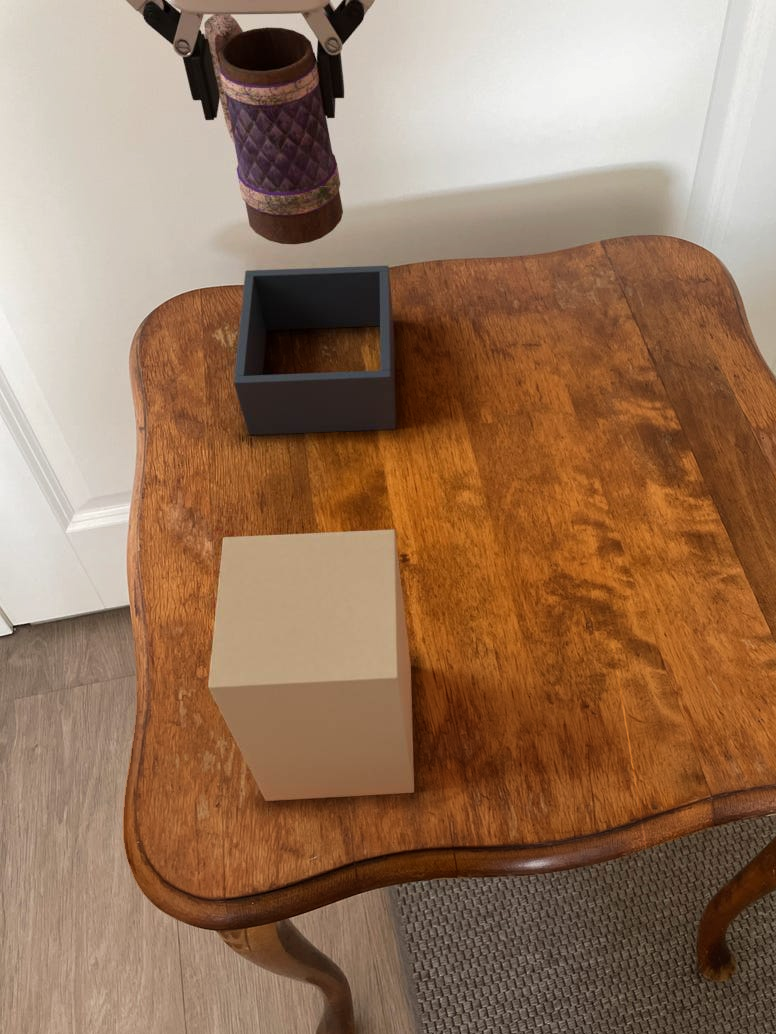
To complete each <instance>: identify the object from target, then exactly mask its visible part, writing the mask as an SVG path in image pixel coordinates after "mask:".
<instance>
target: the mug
mask: <svg viewBox="0 0 776 1034" xmlns="http://www.w3.org/2000/svg"><path fill="white" fill-rule="evenodd" d="M203 26H204V35H205V39H208V41H209V46H210V50H211V55H212V60H213V65H214V69H215V74H216V79H217V84H218V88H219V94H220V100H219V101H220V104H221V109H222V113H223V117H224V122H225V125H226V128H227V131H228V134H229V137H230V139H231V141H232V142H233V144H234V149H235V153H236V159H237V166H236V172H237V179H238V184H239V187H240V188H239V189H240V194H241V199H242V200H243V201H244V203H245V208H246V213H247V219H248V224H249V227H250V228H251V229H252V230H253V232H254V233H255V234H256V235H258V236H260V237H262V238H264V240H267V241H269V242H273V243H277V244H280V245H281V244H282V245H301V244H309V243H311V242H315V241H317V240H319V239H322V238H324V237H325V236H327V235H328V234H330V233H331V232H333V230H335V228H336V227H337V226H338V225H339V224H340V222H341V221H342V217H343V214H344V208H343V203H342V199H341V197H342V196H341V191H340V187H341V179H340V173H339V167H338V163H337V159H336V155H335V154H334V153H333V148H332V143H331V138H330V132H329V127H328V120H327V116H325V114H324V108H323V103H322V97H321V90H320V81H319V73H318V65H317V55H316V54H315V52H314V48H313V45H312V42H311V40H310V39H309V38H307V37H306V36H305V34H302V33H300V32H298V31H296V30H293V29H289V28H283V27H267V26H266V27H260V28H253V29H252V28H251V29H249V30H245V31H244V30H243V29H242V27H241V26H240V24H239V22H238V21H237V20H236V18H234V16H232V14H212V15H211V16H210V17H208V19H206V21H205V22H204V25H203Z"/></svg>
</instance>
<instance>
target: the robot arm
mask: <svg viewBox="0 0 776 1034" xmlns="http://www.w3.org/2000/svg"><path fill="white" fill-rule="evenodd" d="M125 1H126V2H127V3H128V4H129V5H130V6H131V7H132V8H133V9H134V10H135V11H136V12H138V13H139V14H140V15H141V16H142V17H143V20H144V22H145V23H146V24H147V25H148V26H149V27H150V28H151V29H153V30H154V31H155V32H157V33H158V34H159V36H161V37H162V38H164V39H165V40H166V41H167V42H169V44H171V45H172V46H173V50H174V52H175V53H176V54H177V55H178V56H180V57H182V61H183V64H184V65H183V66H184V70H185V74H186V78H187V82H188V86H189V90H190V94H191V99H192V101H200V102H201V107H202V112H203V117H204V119H205V121H215V119H217V117H218V112H219V106H220V101H221V100H220V94H219V88H218V84H217V79H216V74H215V69H214V65H213V60H212V55H211V50H210V46H209V41H208V39H205V33H202V30H201V26H202V22H203V19H204V15H214V14H230V15H291V14H292V15H293V14H301V16H302V17H303V19H304V20H305V22H306V23H307V25H308V27H309V28H310V29H311V31H312V33H313V34H314V36H315V37H316V39H317V44H316V45H317V47H316V50H317V51H316V60H317V65H318V73H319V81H320V90H321V97H322V103H323V108H324V114H325V116H326V119H335V118H336V99H345V82H344V72H343V62H342V61H343V60H342V50H343V46H344V44H345V43H346V42H347V41H348V39H349V38H351V36H352V34H354V32H355V31H356V30H357V29H358V28H359V26H360V25H361V24H362V23H363V21H364V18H365V15H366V14H367V12H368V11H369V10H370V9H371V8H372V6H373V4H374V2H375V1H376V0H341V2H340V3H339V4H338V6H337V7H336V8H335V6H334V5H333V3H332V2H331V0H168V1H167V0H125ZM179 10H180V11H179Z"/></svg>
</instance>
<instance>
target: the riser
mask: <svg viewBox="0 0 776 1034" xmlns="http://www.w3.org/2000/svg"><path fill="white" fill-rule="evenodd" d="M220 555H221V556H220V566H219V577H218V584H217V585H218V587H217V596H216V604H215V605H216V606H215V614H214V615H215V617H214V626H213V635H212V645H211V655H210V664H209V665H210V666H209V675H208V685H207V688H208V690H209V692H210V694H211V696H212V698H213V700H214V702H215V704H216V706H217V707H218V710H219V711H220V714H221V716H222V717H223V719H224V721H225V723H226V725H227V728H228V730H229V731H230V733H231V735H232V737H233V739H234V741H235V743H236V745H237V747H238V749H239V752H240V753H241V755H242V757H243V759H244V761H245V763H246V765H247V767H248V769H249V771H250V773H251V774H252V777H253V779H254V780H255V782H256V785H257V787H258V788H259V790H260V792H261V795H262V796H263V798H264V800H265V801H266V802H273V801H291V800H306V799H307V800H309V799H325V798H344V797H360V796H361V797H362V796H379V795H396V794H397V795H398V794H412V793H414V792H415V773H414V770H415V769H414V740H413V739H414V737H413V736H414V734H413V708H412V707H413V703H412V702H413V701H412V699H413V698H412V697H413V696H412V665H411V655H410V648H409V639H408V631H407V629H408V628H407V623H406V614H405V604H404V596H403V587H402V579H401V569H400V561H399V552H398V543H397V535H396V530H395V529H394V528H393V529H376V530H375V529H374V530H352V531H330V532H329V531H328V532H310V533H309V532H307V533H286V534H285V533H284V534H268V535H265V534H264V535H244V536H242V535H241V536H225V537H222V546H221V554H220Z"/></svg>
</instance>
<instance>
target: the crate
mask: <svg viewBox="0 0 776 1034" xmlns="http://www.w3.org/2000/svg"><path fill="white" fill-rule="evenodd" d="M389 267H390V266H389V265H366V266H336V267H335V266H334V267H309V268H282V269H279V268H278V269H255V270H254V269H251V270H245V272H244V281H243V282H244V283H243V289H242V290H243V291H242V301H241V310H240V320H239V330H238V337H237V338H238V339H237V347H236V356H235V357H236V358H235V368H234V377H233V385H234V389H235V392H236V396H237V399H238V403H239V407H240V409H241V414H242V416H243V420H244V423H245V424H244V425H245V427H246V430H247V435H248V436H265V435H287V434H288V435H289V434H290V435H291V434H311V433H312V434H313V433H336V432H337V433H339V432H361V431H383V430H385V431H386V430H396V429H397V419H396V417H397V416H396V373H395V372H396V371H395V370H396V369H395V366H396V365H395V328H394V326H395V325H394V323H395V321H394V311H393V300H392V287H391V277H390V276H391V275H390V268H389ZM366 327H379V329H380V330H379V331H380V332H379V333H380V334H379V335H380V336H379V338H380V339H379V340H380V342H379V343H380V350H379V351H380V370H356V371H332V372H329V371H328V372H310V373H309V372H307V373H304V372H303V373H283V374H282V373H281V374H264V365H265V354H266V341H267V331H284V330H287V331H288V330H312V329H337V328H340V329H341V328H366Z"/></svg>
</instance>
